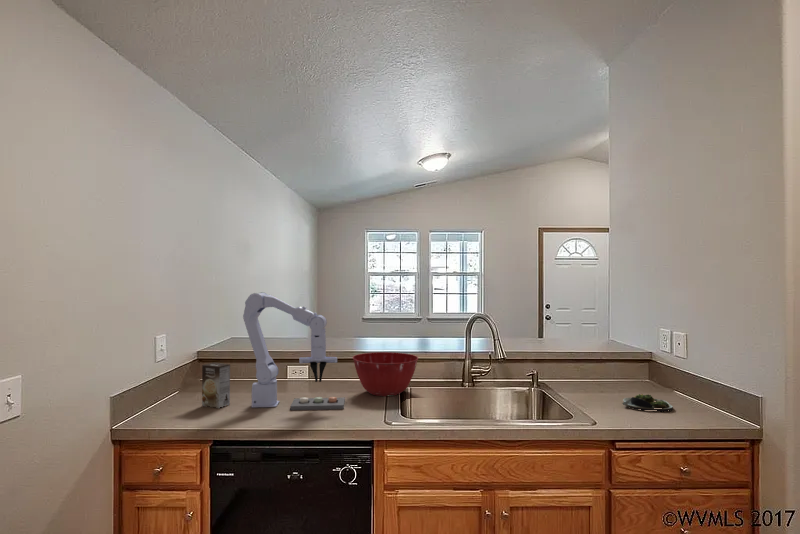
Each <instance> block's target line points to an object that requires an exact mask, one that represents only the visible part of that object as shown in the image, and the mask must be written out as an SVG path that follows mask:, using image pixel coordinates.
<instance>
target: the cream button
mask: <svg viewBox="0 0 800 534" xmlns="http://www.w3.org/2000/svg"><path fill="white" fill-rule="evenodd" d="M299 398H300V403H308V398H309V397H304V396H303V397H299Z"/></svg>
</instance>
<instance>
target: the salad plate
mask: <svg viewBox="0 0 800 534" xmlns="http://www.w3.org/2000/svg"><path fill="white" fill-rule="evenodd" d="M622 401H623V402H622V403H621V404H622V405H624V406H625V407H627V408H628V407H630V408H634V409H641V410H657V411H668V410H671V411H672V410H673V409H674V407H673V405H672V404H670V402H668V401H667V400H664V399H659V398H654V397H653V396H652V395H651V394H643V393H641V394H640V393H639V394H636V395H635V396H632V397H624V398H623V399H622ZM654 401H656V402H654ZM630 408H629V409H630ZM654 408H662V409H654ZM634 409H633V410H634Z"/></svg>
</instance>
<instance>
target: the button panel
mask: <svg viewBox="0 0 800 534" xmlns="http://www.w3.org/2000/svg"><path fill="white" fill-rule="evenodd" d="M300 398H301V397H299V398H294V399H293V401H292V402H291V404H290V407H289V408H290V409H289V410H290V411H314V410H315V411H318V410H321V411H322V410H344V408H345V402H346V397H337V402H336V403H329V397H322V398H323V403H314V398H315V397H307V398H308V403H300Z"/></svg>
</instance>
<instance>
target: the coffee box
mask: <svg viewBox="0 0 800 534" xmlns="http://www.w3.org/2000/svg"><path fill="white" fill-rule="evenodd" d="M201 367H202V368H201V369H202V371H201V373H202V374H201V375H202V376H201V377H202V378H201V406H202V405H203V406H202V407H207V406H210V407H209V408H213V407H216V408H215V409H221V408H220V407H222V408H224V407H223V406H225V407H227V406H226V405H228V406H230V405H231V402H230V401H231V364H228V363H220V362H210V363H206V364H202V366H201ZM229 404H230V405H229Z"/></svg>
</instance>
